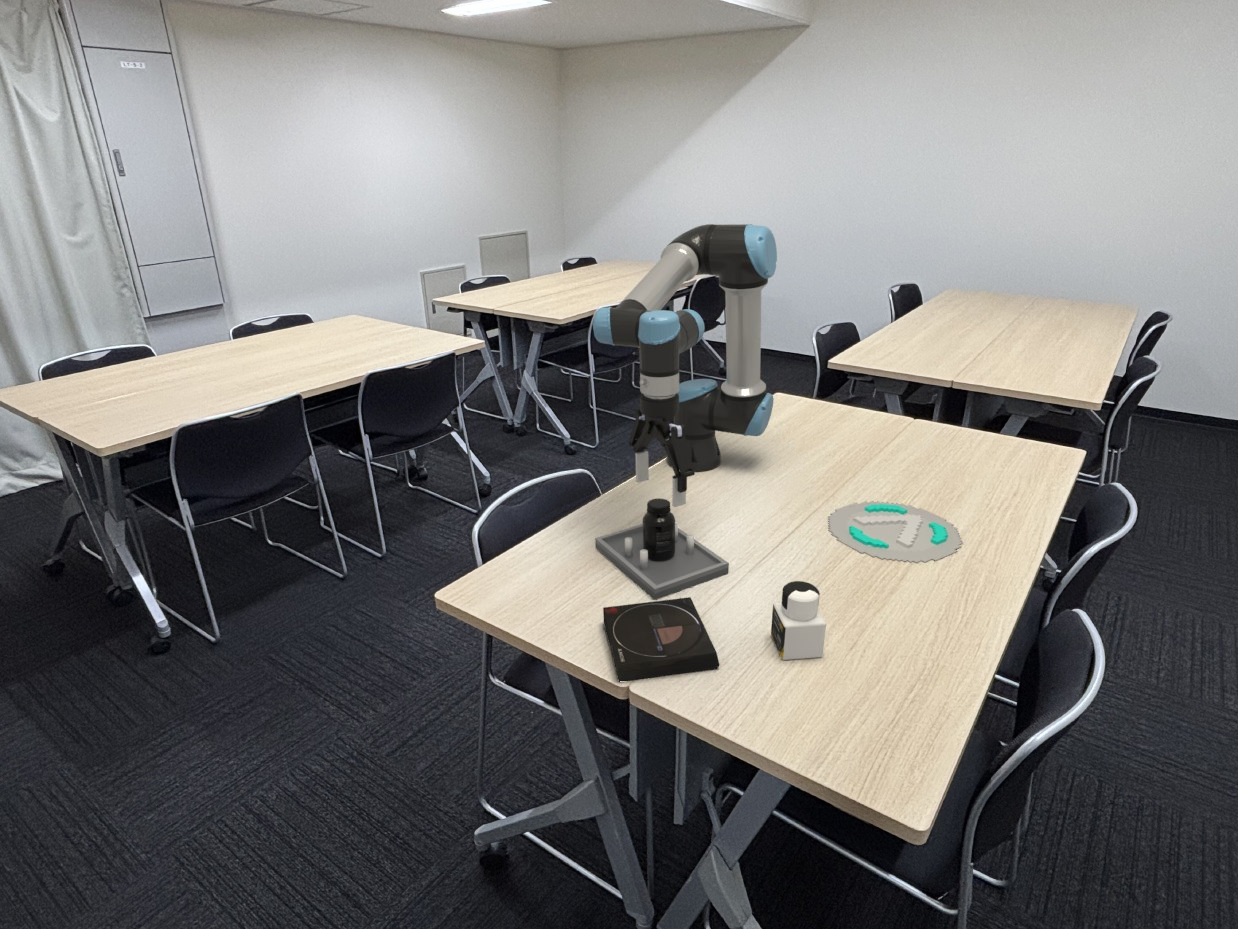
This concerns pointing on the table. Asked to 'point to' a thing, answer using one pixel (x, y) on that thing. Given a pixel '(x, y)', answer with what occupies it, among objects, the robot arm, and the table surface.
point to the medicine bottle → (798, 622)
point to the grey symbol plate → (894, 532)
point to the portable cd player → (658, 639)
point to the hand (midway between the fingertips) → (660, 492)
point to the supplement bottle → (659, 530)
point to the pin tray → (661, 576)
